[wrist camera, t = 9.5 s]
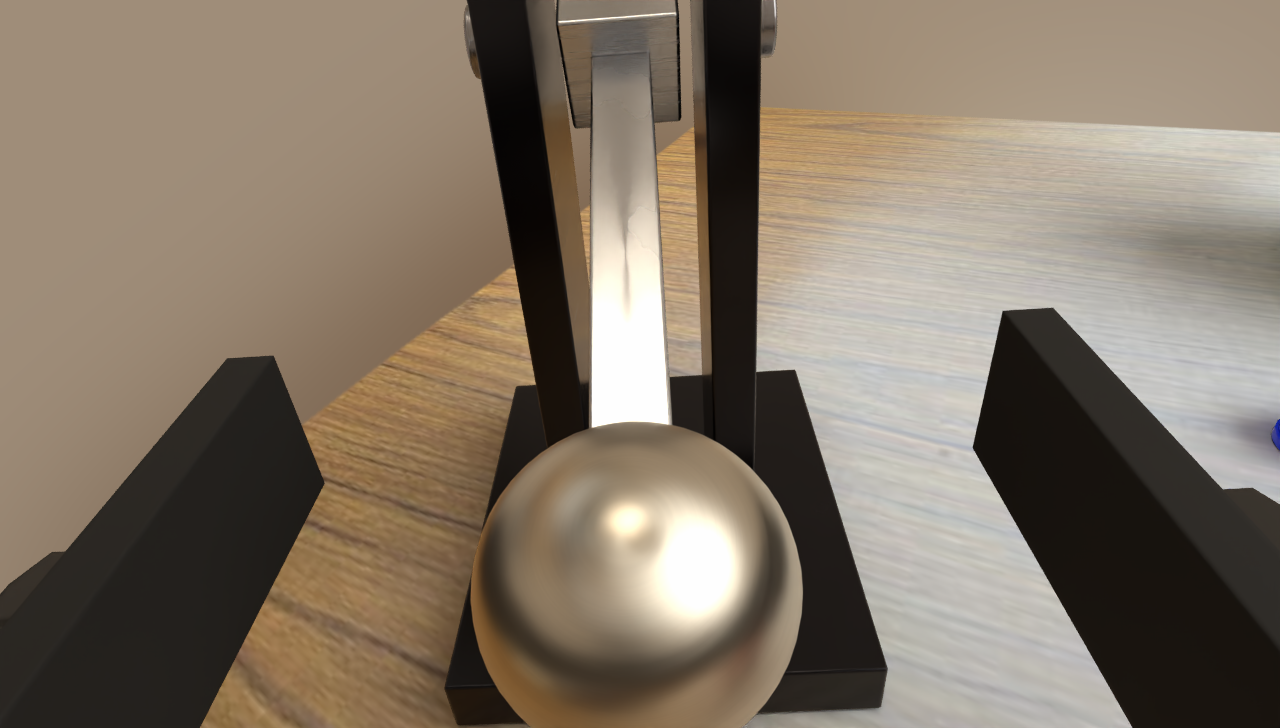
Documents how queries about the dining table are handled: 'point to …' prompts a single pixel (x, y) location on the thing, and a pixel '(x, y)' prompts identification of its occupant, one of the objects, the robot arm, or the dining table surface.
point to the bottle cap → (1276, 434)
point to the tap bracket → (728, 281)
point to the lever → (633, 465)
